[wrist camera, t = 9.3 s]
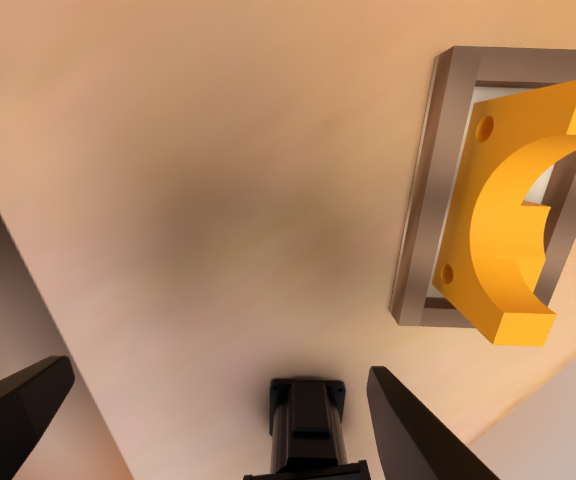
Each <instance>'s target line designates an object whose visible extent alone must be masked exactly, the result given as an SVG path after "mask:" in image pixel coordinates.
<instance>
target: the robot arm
mask: <svg viewBox="0 0 576 480" xmlns="http://www.w3.org/2000/svg"><path fill="white" fill-rule="evenodd" d="M74 381H75V374H74V371H73V368H72V364H71V361H70V358H69V357H68V356H65V355H52V356H49V357H48V358H45V359H43V360H41V361H39V362H37V363H35V364H33V365H31V366H29V367H27V368H25V369H23V370H20V371H18V372H16V373H14V374H12V375H10V376H8V377H6V378H4V379H2V380H0V480H12V479H13V477H14V476H15V474H16V473H17V472H18V470H19V469H20V467H21V466H22V465H23V463H24V462H25V460H26V459H27V457H28V456H29V455H30V453H31V452H32V451H33V449H34V448H35V446H36V445H37V443H38V442H39V440H40V439H41V437H42V436H43V434H44V432H45V431H46V429H47V427H48V426H49V424H50V423H51V421H52V419H53V418H54V416H55V414H56V413H57V411H58V409H59V408H60V406H61V404H62V403H63V401H64V399H65V398H66V396H67V394H68V393H69V391H70V389H71V388H72V386H73V384H74ZM345 392H346V389H345V385H344V383H342V382H328V381H300V380H273V381H272V382H271V384H270V435H271V436H273V438H272V453H271V469H270V474H264V475H257V476H252V475H244V478H243V480H371V477H370V473H369V470H368V466H367V462H366V460H361V461H359V462H358V463H351V464H348V463H347V457H346V452H345V446H344V440H343V434H342V429H341V422H342V414H343V407H344V400H345ZM367 397H368V403H369V408H370V413H371V418H372V424H373V429H374V434H375V439H376V444H377V449H378V454H379V458H380V461H381V465H382V468H383V472H384V475H385V479H386V480H500V479H499V478H498V477H497V476H496V475H495V474H494V473H493V472H492V471H491V470H490V469H489V468H488V467H487V466H486V465H485V464H484V463H483V462H482V461H481V460H480V459H479V458H478V457H477V456H476V455H475V454H474V453H473V452H472V451H470V449H469V448H468V447H467V446H466V445H465V444H464V443H462V442H461V441H460V440H459V439H458V438H457V437H456V436H455V435H454V434H453V433H452V432H451V431H450V430H449V429H448V428H447V427H446V426H445V425H444V424H443V423H442V422H441V421H440V420H439V419H438V418H437V417H436V416H435V415H434V414H433V413H432V412H431V411H430V410H429V409H428V408H427V407H426V406H425V405H424V404H423V403H422V402H421V401H420V400H419V399H418V398H417V397H416V396H415V395H414V394H413V393H412V392H411V391H410V390H409V389H407V388H406V387H405V386H404V385H403V384H402V383H401V382H400V381H399V380H398V379H397V378H396V377H395V376H394V375H393V374H392V373H391V372H390V371H389V370H388V369H387V368H386V367H384V366H372V367H371V368H370V370H369V376H368V382H367Z"/></svg>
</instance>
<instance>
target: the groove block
mask: <svg viewBox="0 0 576 480" xmlns="http://www.w3.org/2000/svg"><path fill="white" fill-rule="evenodd" d="M573 80H576V50H567V49H537V48H506V47H476V46H453V47H451V48H450V49H448V50H447V51H445V52H443V53H442V54H440V55H438V56H437V57H436V58H435V63H434V69H433V74H432V80H431V85H430V91H429V96H428V102H427V107H426V113H425V118H424V124H423V129H422V134H421V140H420V145H419V151H418V156H417V162H416V167H415V173H414V178H413V184H412V189H411V195H410V200H409V206H408V211H407V217H406V222H405V228H404V233H403V239H402V244H401V250H400V255H399V261H398V266H397V272H396V277H395V283H394V288H393V294H392V299H391V305H390V312H391V314H392V315H393V317H394V319H395V320H396V322H397V324H398V325H400V326H429V327H458V328H475V327H474V326H473V325H472V324H471V323H470V322H469V321H468V320H467V319H466V318H465V317H464V316H463V315H462V314H461V313H460V312H459V311H458V310H457V309H456V308H455V307H454V306H453V305H452V304H451V303H450V302H449V301H448V300H447V299H446V298H445V297H444V296H443V295H442V294H441V293H440V292H439V291H438V290H437V289H436V288H435V287H434V286H433V285H432V280H433V276H434V271H435V267H436V263H437V259H438V254H439V250H440V246H441V242H442V237H443V233H444V229H445V225H446V220H447V216H448V212H449V208H450V203H451V199H452V195H453V191H454V186H455V182H456V178H457V174H458V169H459V165H460V161H461V157H462V152H463V148H464V144H465V140H466V135H467V131H468V127H469V123H470V118H471V114H472V110H473V106H474V103H477V102H481V101H486V100H490V99H494V98H499V97H503V96H507V95H512V94H516V93H521V92H525V91H529V90H534V89H538V88H543V87H547V86H551V85H556V84H560V83H564V82H569V81H573ZM524 200H525V201H529V202H533V203H537V204H541V205H546V206H550V207H551V208H550V211H549V213H548V216H547V219H546V223H545V228H544V238H543V243H544V253H545V258H546V260H545V263H544V265H543V268H542V271H541V273H540V276H539V279H538V281H537V284H536V286H535V289H534V292H533V294H534V295H535V296H536V297H537V298H538V299H539V300H540V301H541V302H542V303H543V304H544V305H545V306H546V307H548V304H549V302H550V299H551V297H552V294H553V292H554V289H555V287H556V285H557V282H558V280H559V277H560V275H561V272H562V270H563V267H564V265H565V262H566V260H567V258H568V255H569V253H570V250H571V248H572V245H573V243H574V240H575V238H576V151H574V152H572V153H570V154H568V155H566V156H565V157H563V158H562V159H560V160H559V161H557V162H556V163H554V164H553V165H552V166H551V167H549V168H548V169H547V170H546V171H545V172H544V173H543V174H542V175H541V176H540V177H539V178H538V179H537V180H536V182H535V183H534V184H533V185H532V187H531V188H530V190H529V191H528V193H527V194H526V196H525V198H524Z"/></svg>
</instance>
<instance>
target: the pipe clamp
mask: <svg viewBox="0 0 576 480" xmlns="http://www.w3.org/2000/svg"><path fill="white" fill-rule="evenodd" d="M574 151H576V80H573V81H569V82H564V83H560V84H556V85H551V86H547V87H543V88H538V89H534V90H529V91H525V92H521V93H516V94H512V95H507V96H503V97H499V98H494V99H490V100H486V101H481V102H477V103H474V106H473V110H472V114H471V118H470V123H469V127H468V131H467V135H466V140H465V144H464V148H463V152H462V157H461V161H460V165H459V169H458V174H457V178H456V182H455V186H454V191H453V195H452V199H451V203H450V208H449V212H448V216H447V220H446V225H445V229H444V233H443V237H442V242H441V246H440V250H439V254H438V259H437V263H436V267H435V271H434V276H433V280H432V285H433V286H434V287H435V288H436V289H437V290H438V291H439V292H440V293H441V294H442V295H443V296H444V297H445V298H446V299H447V300H448V301H449V302H450V303H451V304H452V305H453V306H454V307H455V308H456V309H457V310H458V311H459V312H460V313H461V314H462V315H463V316H464V317H465V318H466V319H467V320H468V321H469V322H470V323H471V324H472V325H473V326H474V327H475V328H476V329H477V330H478V331H479V332H480V333H481V334H482V335H483V336H484V337H485V338H486V339H487V340H489V341H490V342H491V343H492V344H493V345H513V346H541V347H543V346H544V344H545V341H546V339H547V337H548V334H549V332H550V330H551V327H552V325H553V322H554V320H555V318H556V315H557V314H556V313H554V312H553V311H551V310H550V309H549V308H547V307H546V306H545V305H544V304H543V303H542V302H541V301H540V300H539V299H538V298H537V297H536V296H535V295H534V294H533V292H534V289H535V286H536V284H537V281H538V279H539V276H540V273H541V271H542V268H543V265H544V263H545V260H546V258H545V253H544V243H543V238H544V228H545V223H546V219H547V216H548V213H549V211H550V208H551V207H550V206H546V205H541V204H537V203H533V202H529V201H525V200H524V198H525V196H526V194H527V193H528V191H529V190H530V188H531V187H532V185H533V184H534V183H535V182H536V180H537V179H538V178H539V177H540V176H541V175H542V174H543V173H544V172H545V171H546V170H547V169H548V168H549V167H551V166H552V165H553V164H554V163H556V162H557V161H559V160H560V159H562V158H563V157H565V156H566V155H568V154H570V153H572V152H574Z"/></svg>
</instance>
